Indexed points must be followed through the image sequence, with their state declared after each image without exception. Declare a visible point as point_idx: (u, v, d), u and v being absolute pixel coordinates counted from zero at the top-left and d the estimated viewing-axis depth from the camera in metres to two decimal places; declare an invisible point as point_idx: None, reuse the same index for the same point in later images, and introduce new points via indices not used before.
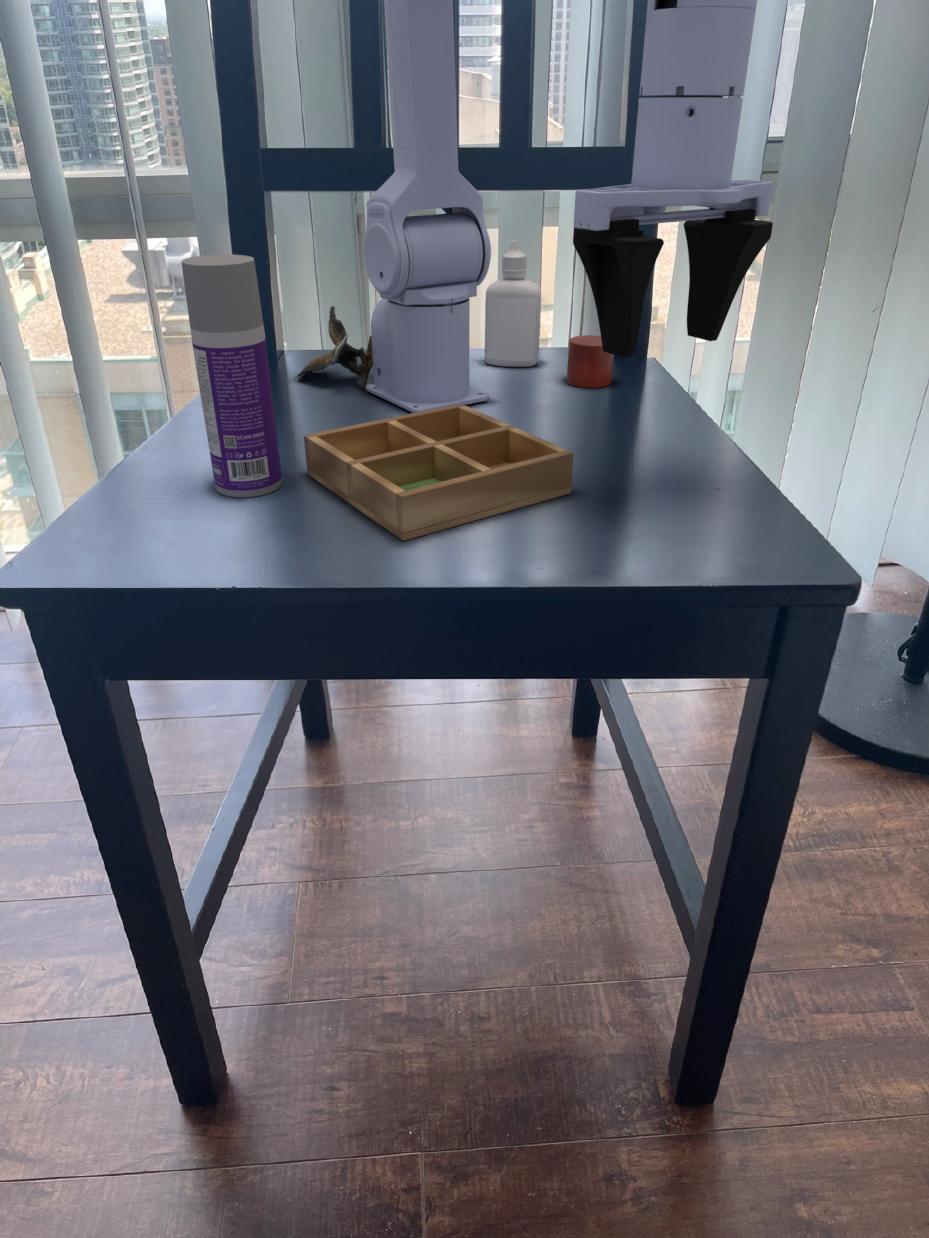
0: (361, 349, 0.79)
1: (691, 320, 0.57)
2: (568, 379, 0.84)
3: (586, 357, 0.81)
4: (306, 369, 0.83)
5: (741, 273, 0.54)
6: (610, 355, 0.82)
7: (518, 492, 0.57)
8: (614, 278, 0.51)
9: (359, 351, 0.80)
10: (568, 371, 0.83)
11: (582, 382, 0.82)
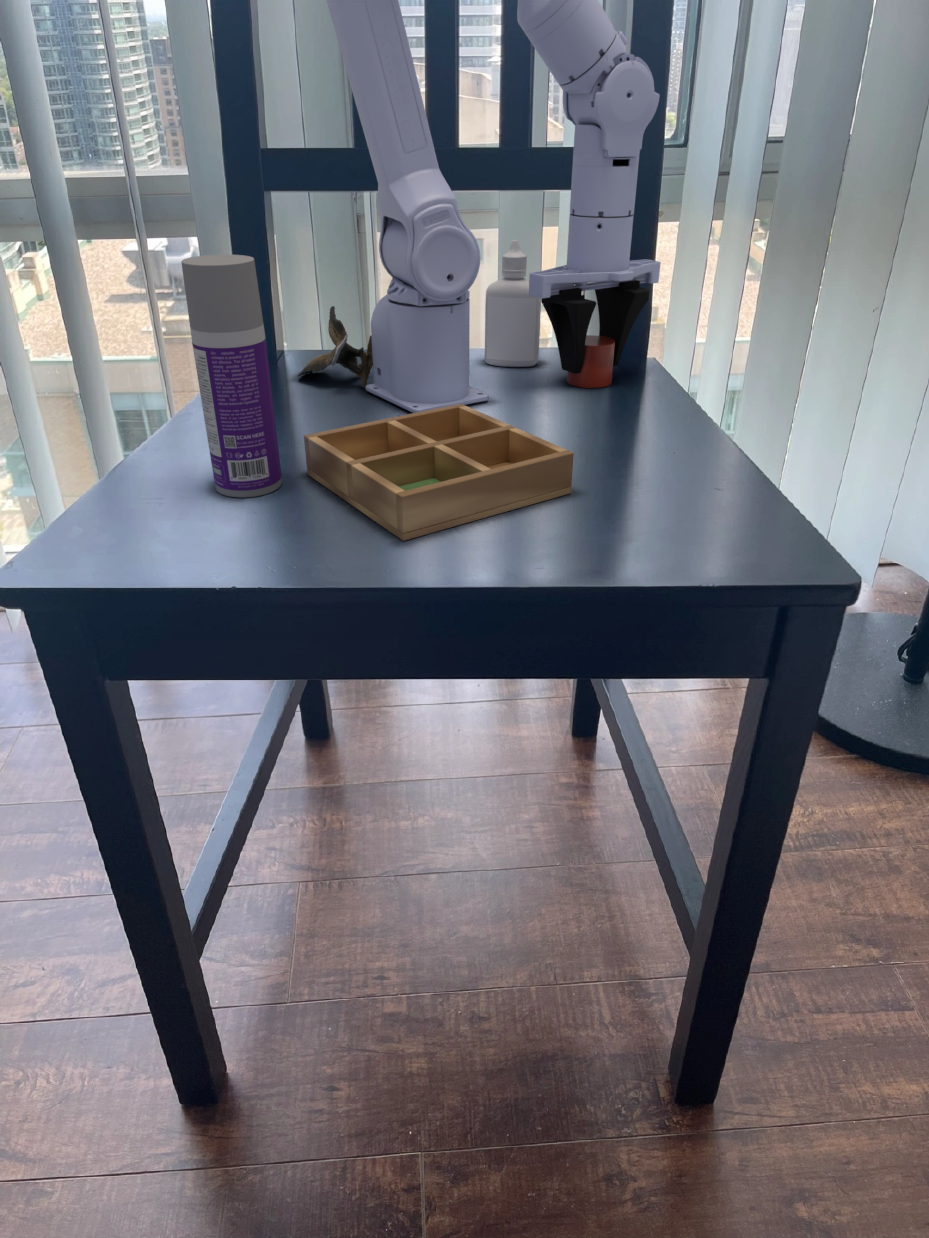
0: (361, 349, 0.79)
1: None
2: (568, 379, 0.84)
3: (586, 356, 0.81)
4: (306, 369, 0.83)
5: (630, 322, 0.82)
6: (610, 355, 0.82)
7: (518, 492, 0.57)
8: (567, 323, 0.80)
9: (359, 351, 0.80)
10: None
11: (582, 382, 0.82)
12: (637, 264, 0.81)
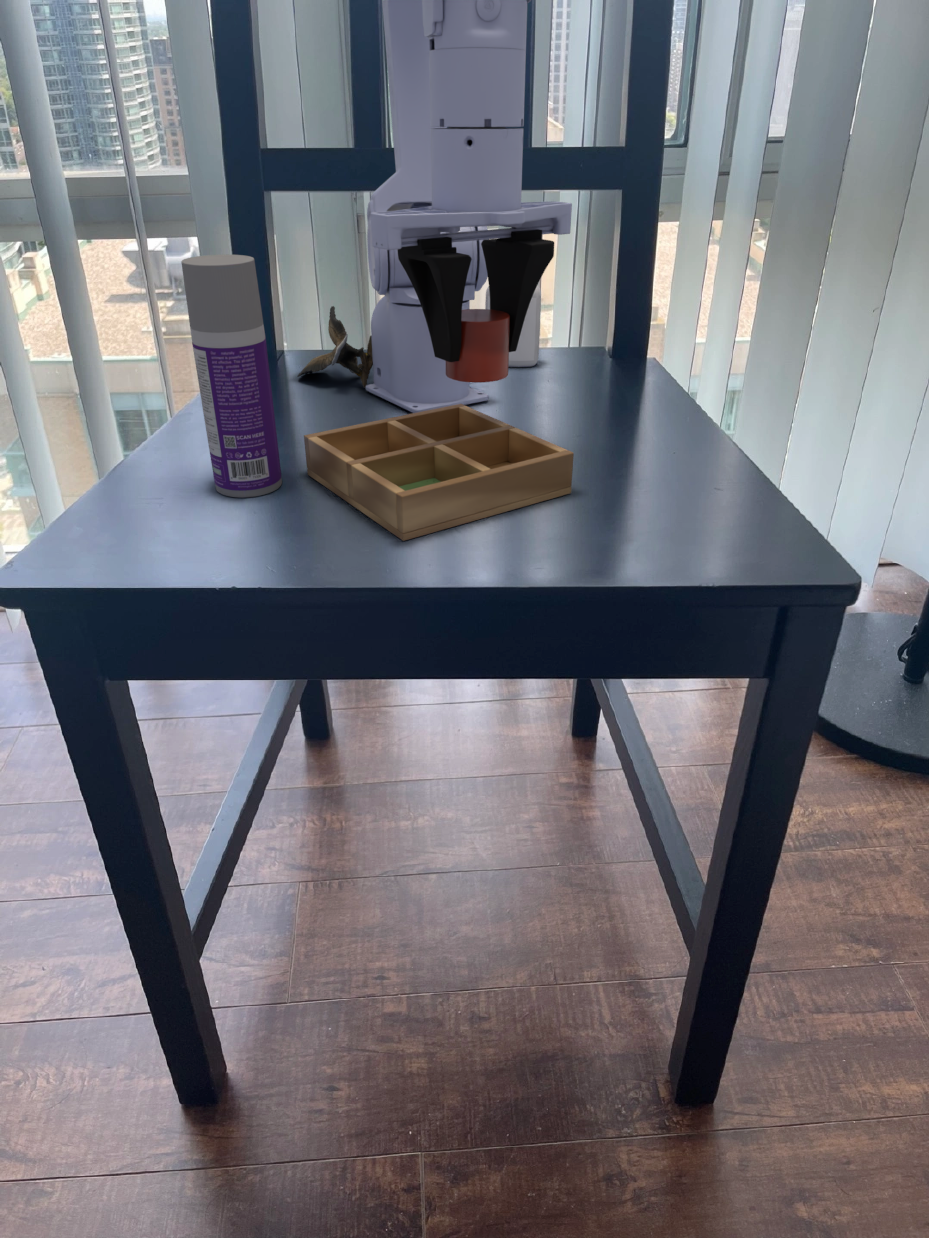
0: (361, 349, 0.79)
1: None
2: (446, 370, 0.59)
3: (466, 338, 0.57)
4: (306, 369, 0.83)
5: (530, 289, 0.57)
6: (502, 335, 0.57)
7: (518, 492, 0.57)
8: (436, 290, 0.56)
9: (359, 351, 0.80)
10: None
11: (464, 374, 0.58)
12: (537, 205, 0.56)
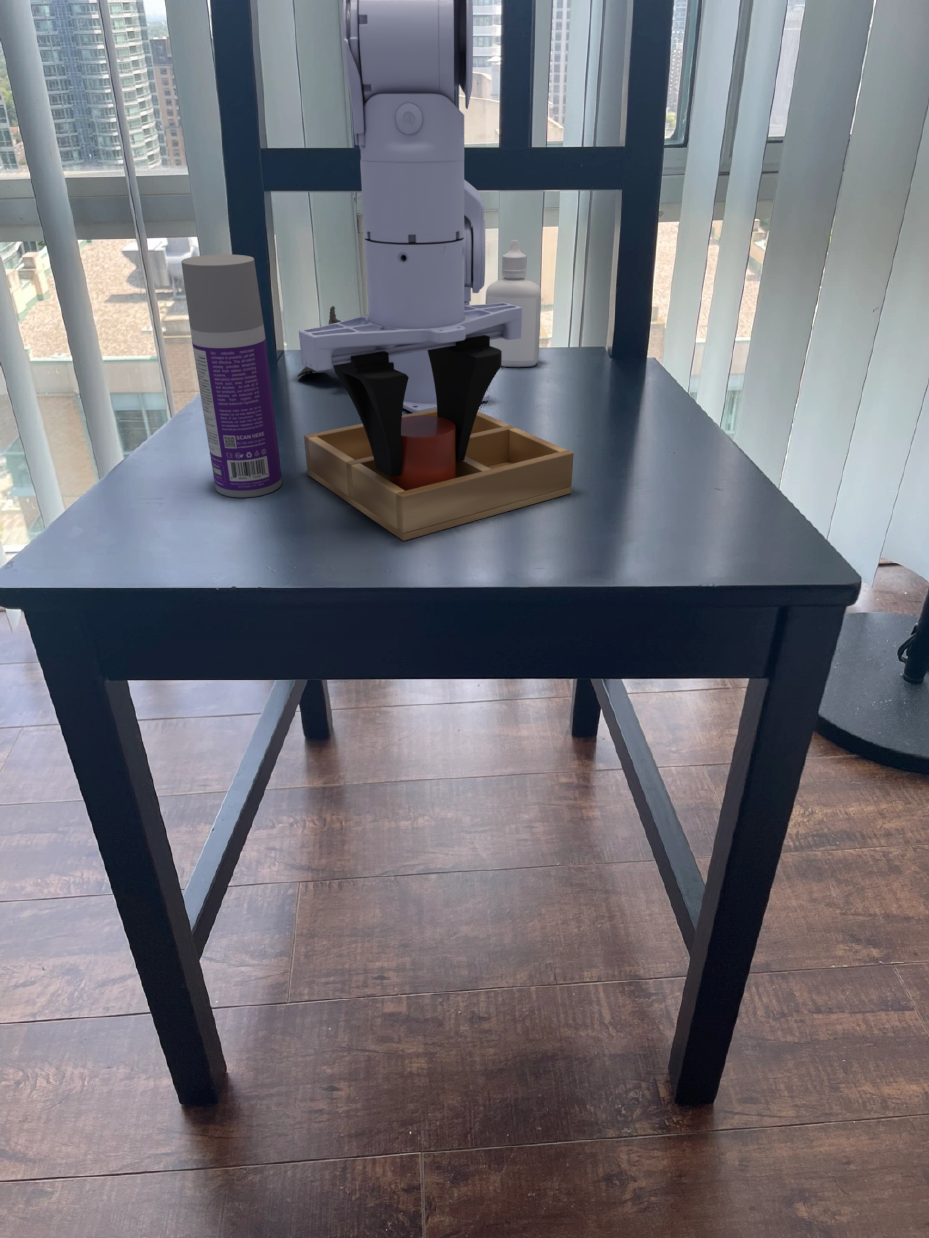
0: None
1: None
2: None
3: (407, 453, 0.53)
4: (306, 369, 0.83)
5: (476, 399, 0.54)
6: (446, 449, 0.54)
7: (518, 492, 0.57)
8: None
9: None
10: None
11: (406, 489, 0.54)
12: (483, 312, 0.53)
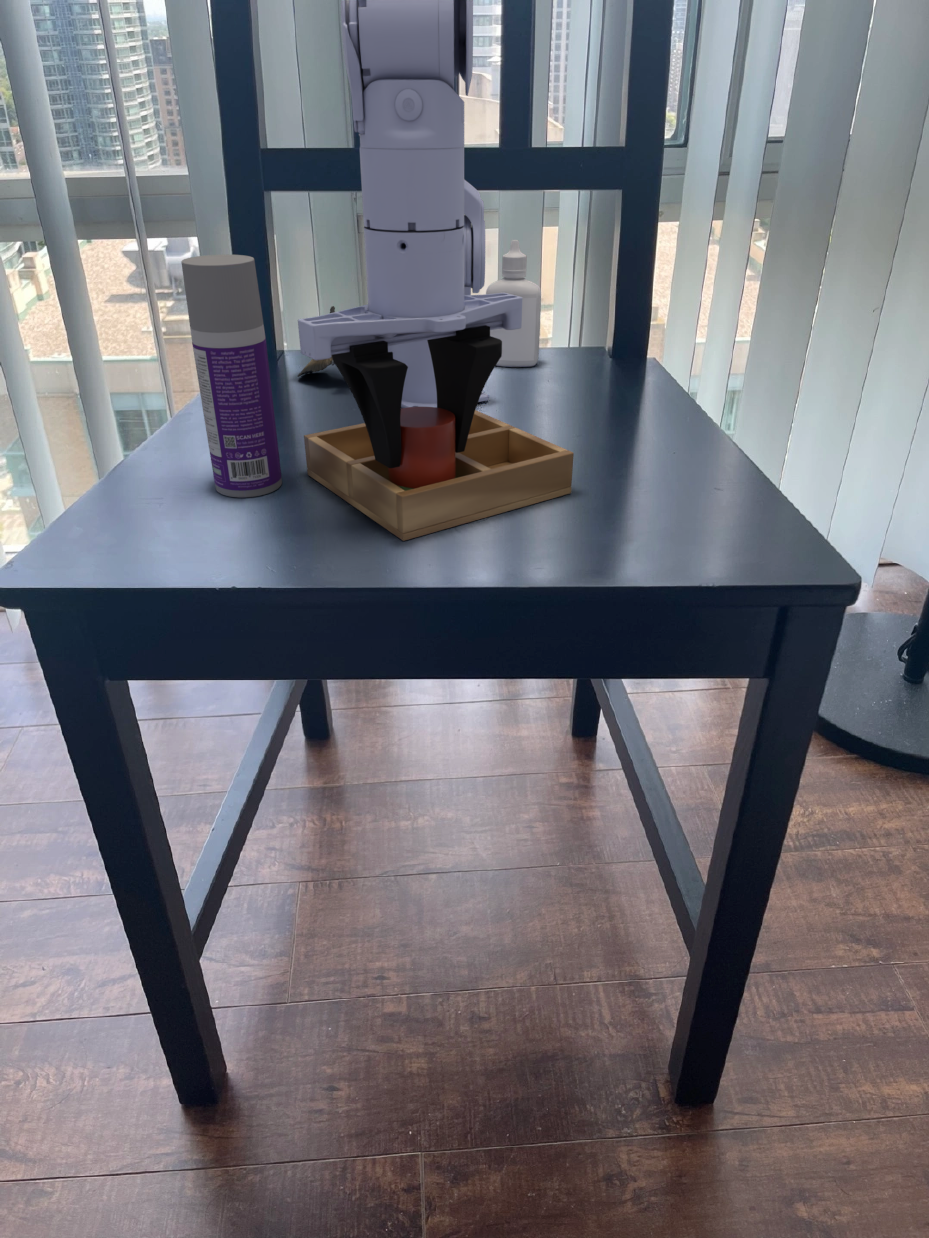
0: None
1: None
2: (389, 473, 0.55)
3: (407, 443, 0.53)
4: (306, 369, 0.83)
5: (477, 389, 0.54)
6: (446, 440, 0.53)
7: (518, 492, 0.57)
8: None
9: None
10: None
11: (406, 480, 0.54)
12: (483, 302, 0.53)
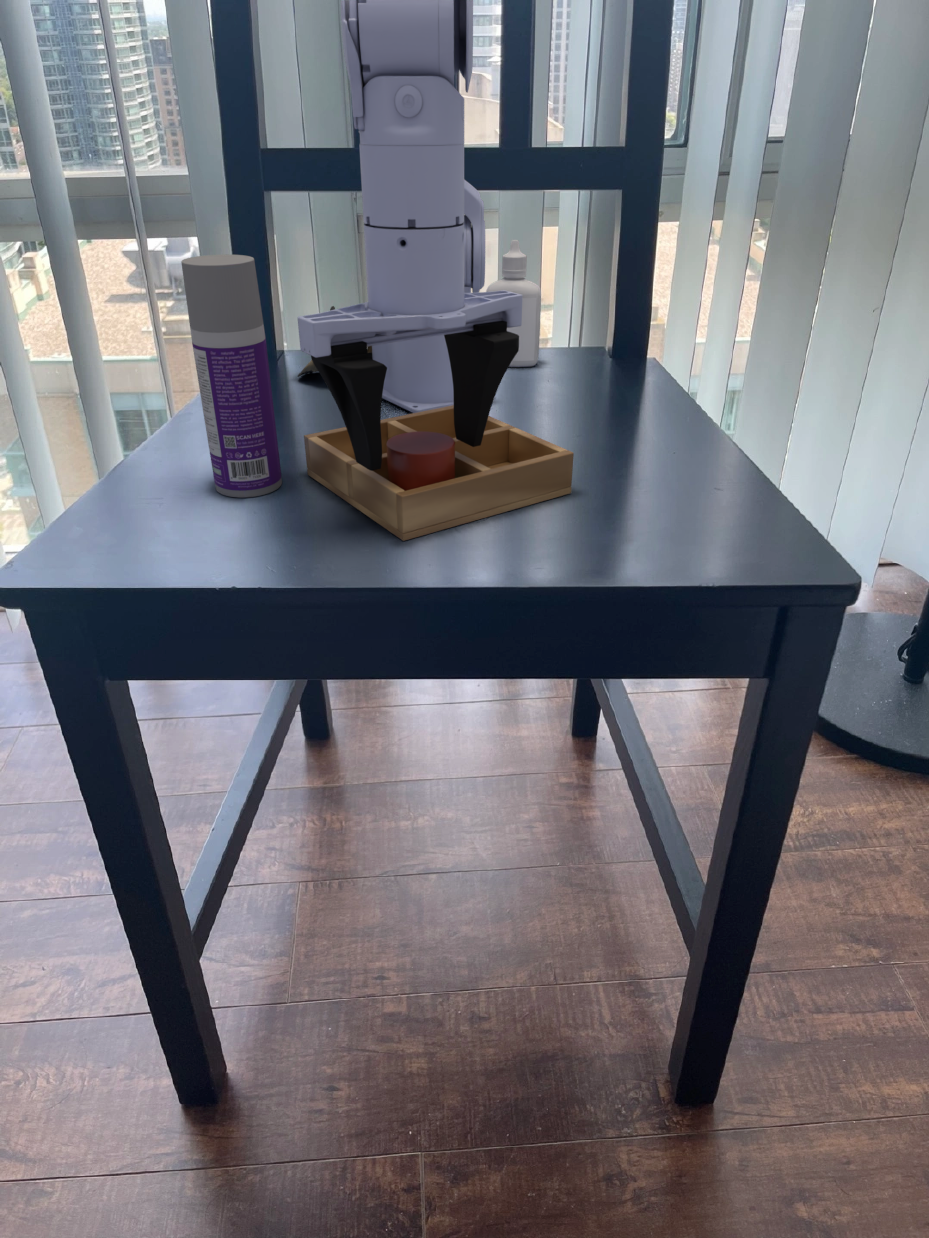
0: None
1: (457, 425, 0.57)
2: None
3: (407, 469, 0.54)
4: (306, 369, 0.83)
5: (493, 384, 0.54)
6: (446, 465, 0.54)
7: (518, 492, 0.57)
8: None
9: None
10: None
11: None
12: (483, 299, 0.52)
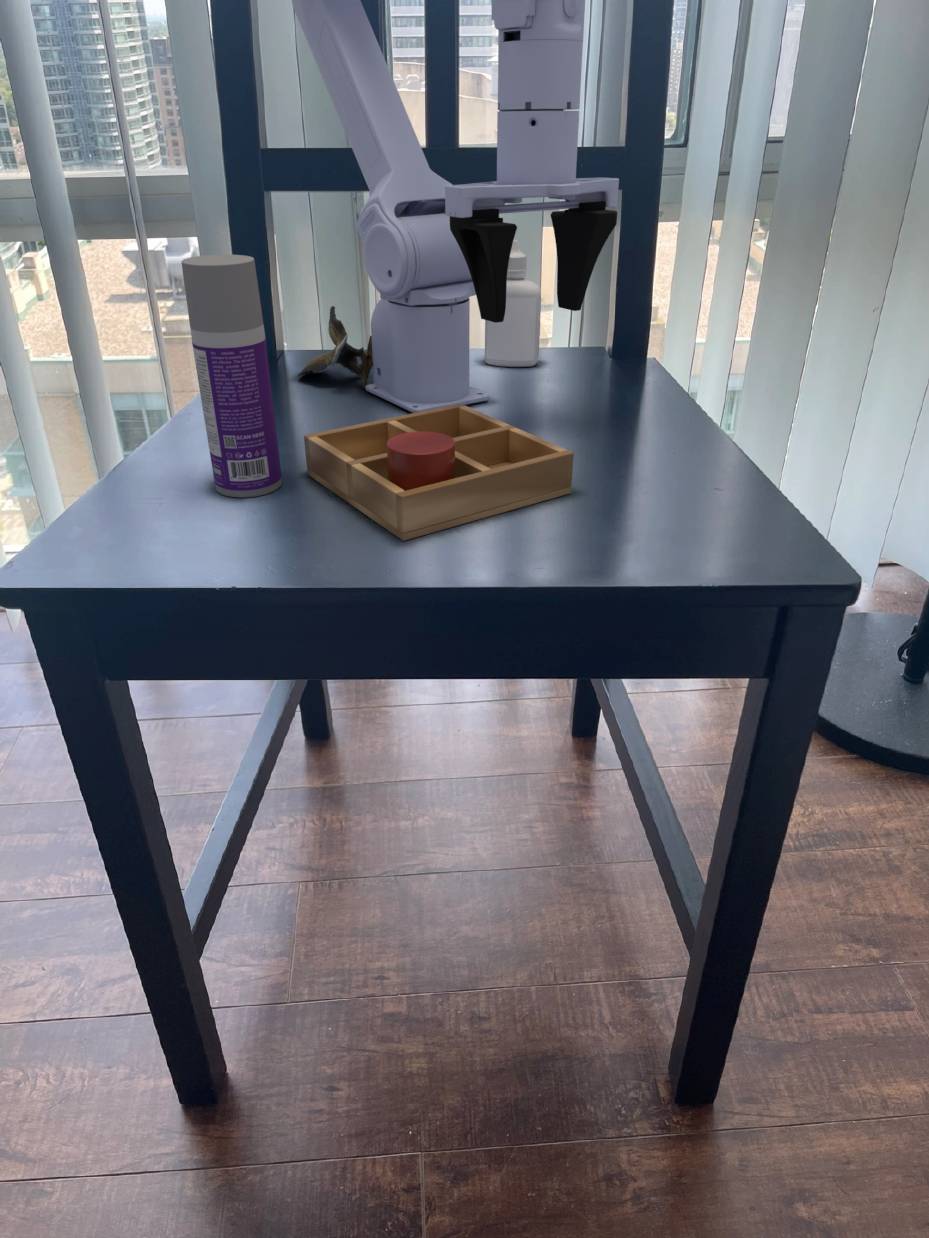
0: (361, 349, 0.79)
1: (560, 294, 0.68)
2: None
3: (407, 469, 0.54)
4: (306, 369, 0.83)
5: (594, 254, 0.65)
6: (446, 465, 0.54)
7: (518, 492, 0.57)
8: (484, 257, 0.62)
9: (359, 351, 0.80)
10: None
11: None
12: (588, 180, 0.64)
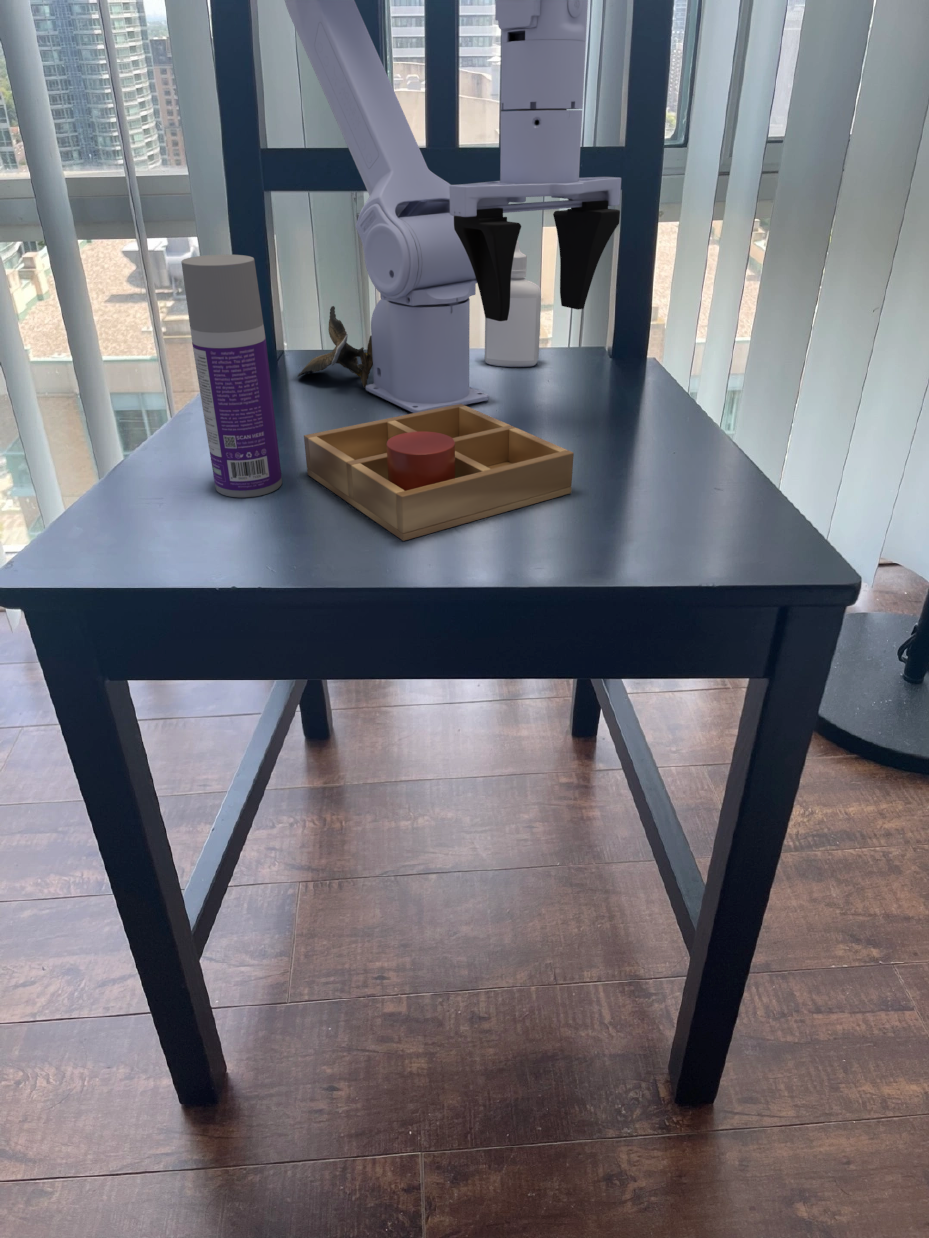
0: (361, 349, 0.79)
1: (563, 293, 0.69)
2: None
3: (407, 469, 0.54)
4: (306, 369, 0.83)
5: (597, 252, 0.66)
6: (446, 465, 0.54)
7: (518, 492, 0.57)
8: (488, 256, 0.63)
9: (359, 351, 0.80)
10: None
11: None
12: (591, 180, 0.64)
